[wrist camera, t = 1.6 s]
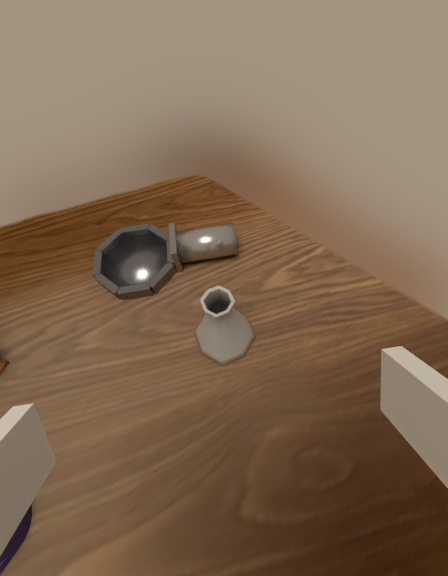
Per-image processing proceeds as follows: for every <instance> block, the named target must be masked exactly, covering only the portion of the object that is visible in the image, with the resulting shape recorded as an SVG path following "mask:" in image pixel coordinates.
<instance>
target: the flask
mask: <svg viewBox="0 0 448 576" xmlns="http://www.w3.org/2000/svg"><path fill="white" fill-rule="evenodd" d="M200 302H201V305H202V307H203V310H204V312H205V316H204V318H203V320H202V322H201V323H200V325H199V326H198V328H197V329H196V331H195V333H194V334H195V336H196V339H197V342H198V345H199V347H200V350H201V353H202V354H203V355H205V356H206V357H208V358H210V359H211V360H213V361H215V362H216V363H218V364H220V365H221V366H223V365H225V364H228V363H230V362H232V361H235V360H237V359H239V358H242V357H244V356H245V354H246V352H247V351H248V349H249V347H250V345H251V344H252V342H253V340H254V338H255V337H256V336H255V334H254V332H253V330H252V328H251V326H250V324H249V322H248V320H247V318H246V316H244V315H243V314H241V313H239V312H238V311H237V310H235V309H234V308H233V306H234V304H235V300H234V298H233V296H232V294H231V292H230V290H228V289H226V288H224V287H222V286H220V285H218V286H216V287H213V288H210V289H208V290H207V291H206V292H205V293H204V295H203V296H202V298H201V299H200Z"/></svg>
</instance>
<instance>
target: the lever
mask: <svg viewBox="0 0 448 576" xmlns="http://www.w3.org/2000/svg"><path fill="white" fill-rule="evenodd" d="M31 517H32V507H31V505H30V507H29V509H28V510H27V512H26V514H25V515H24V517H23V519H22V520H21V522H20V524H19V526H18V527H17V529H16V531H15V532H14V534H13V536H12V537H11V539H10V541H9V542H8V544H7V546H6V548H5V549H4V551H3V553H2V554H1V556H0V574H1V573H2V571H3V570H4V568H5V567H6V566H7V564H8V563H9V561H10V560H11V559H12V557H13V556H14V555H15V553H16V552H17V550H18V549H19V548H20V546H21V545H22V543H23V541H24V539H25V537H26V535H27V533H28V530H29V527H30V523H31Z"/></svg>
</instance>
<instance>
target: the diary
mask: <svg viewBox="0 0 448 576" xmlns="http://www.w3.org/2000/svg"><path fill="white" fill-rule="evenodd" d="M8 363H9V362H7V361H4V360H2V359H0V375H1V374H2V372H3V371H4V369H5V368H6V366H7V365H8Z"/></svg>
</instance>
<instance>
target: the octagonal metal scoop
mask: <svg viewBox="0 0 448 576" xmlns="http://www.w3.org/2000/svg"><path fill="white" fill-rule="evenodd" d="M236 254H238V247H237V239H236V233H235V228H234V224H233V223H229V224H223V225H216V226H210V227H203V228H197V229H191V230H184V231H178V232H177V229H176V226H175V223H171V224H169V234H167V233H165V232H164V231H162V230H160V229H159V228H157V227H155V226H154V225H152V224H150V225H149V224H142V225H136V226H130V227H123V228H120V230H119V229H117V230H116V231H115V232H114V233H113V234H112V235H111V236H110V237H109V238H107V239H106V240H105V241H104V242H103V243H102V244H101V245H100V246H98V247H97V250H95V258H94V269H93V276H94V279H95V280H96V281H97V282H98V283H99V284H100V285H102V286H103V287H104V288H105V289H107V290H108V291H109V292H111V293H112V294H113V295H115V296H116V297H117V298H119V299H122V300H126V299H133V298H139V297H145V296H152V295H154V293H157V292H158V291H159V290H160V289H161V288H162V287H163V286H164V285H165V284H166V283H167V282H168V281H169V280H170V279H171V277H172V276H173V275H174V274H175V273H176V272H183V263H186V262H192V261H198V260H205V259H211V258H217V257H224V256H230V255H236ZM176 270H177V271H176Z"/></svg>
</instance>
